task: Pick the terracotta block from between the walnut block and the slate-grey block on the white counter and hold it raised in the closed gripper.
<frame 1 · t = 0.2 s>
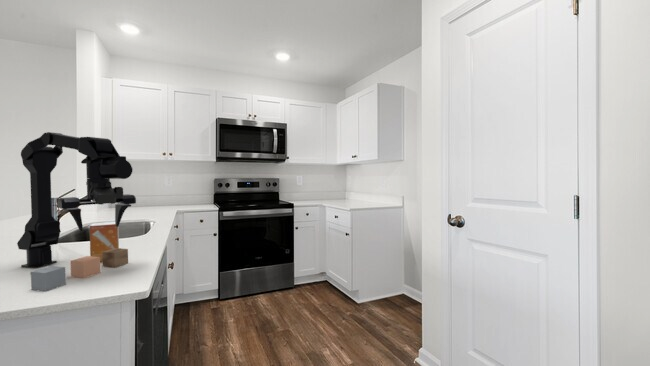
hand: (99, 228, 94), 14 cm above the counter, fingers open, 9 cm apart
slate cube: (49, 287, 82), on the counter
terracotta cube: (85, 275, 92), on the counter
walnut cube: (115, 265, 102), on the counter
small box: (105, 260, 108), on the counter
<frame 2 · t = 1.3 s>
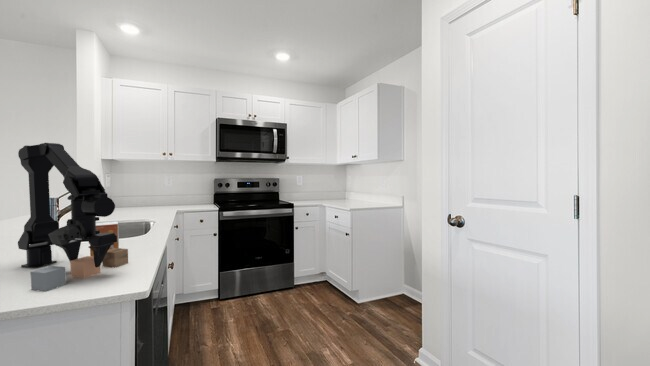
hand: (85, 265, 92), 3 cm above the counter, fingers open, 9 cm apart
nothing on the counter moved.
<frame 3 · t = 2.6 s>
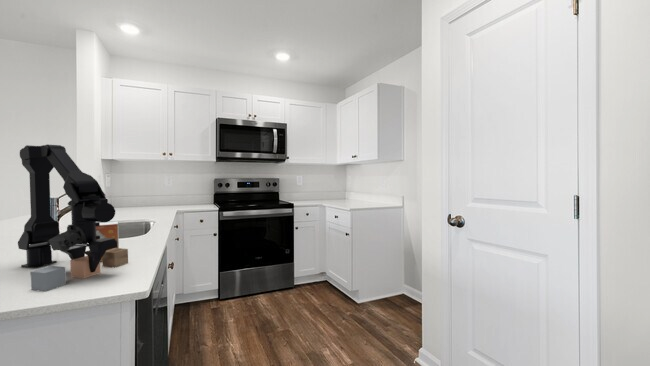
hand: (85, 271, 92), 1 cm above the counter, fingers closed on terracotta cube, 5 cm apart
terracotta cube: (85, 274, 92), on the counter, touching gripper
everything else where it was.
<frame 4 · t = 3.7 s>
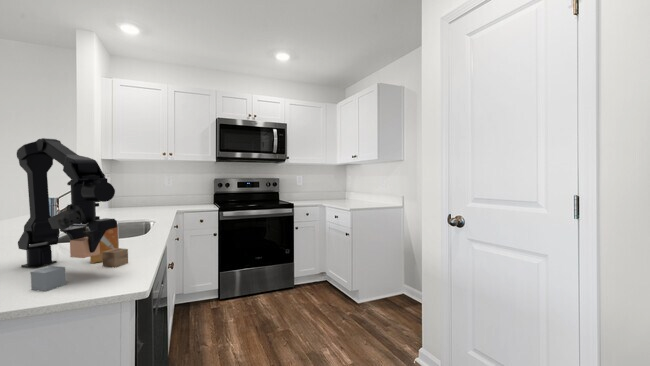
hand: (85, 251, 92), 7 cm above the counter, fingers closed on terracotta cube, 5 cm apart
terracotta cube: (85, 255, 92), point 6 cm above the counter, touching gripper
everything else where it was.
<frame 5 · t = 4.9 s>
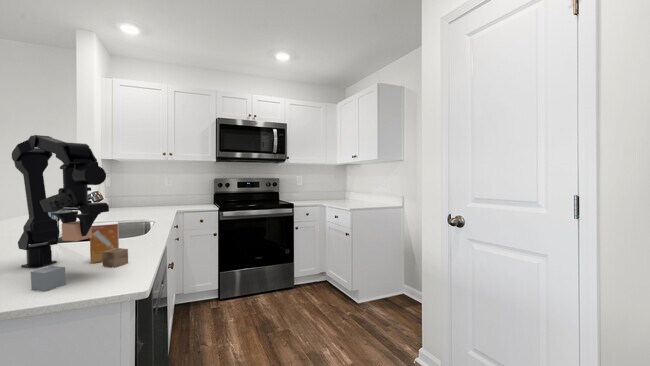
hand: (77, 235, 92), 12 cm above the counter, fingers closed on terracotta cube, 5 cm apart
terracotta cube: (77, 238, 92), point 11 cm above the counter, touching gripper
everything else where it was.
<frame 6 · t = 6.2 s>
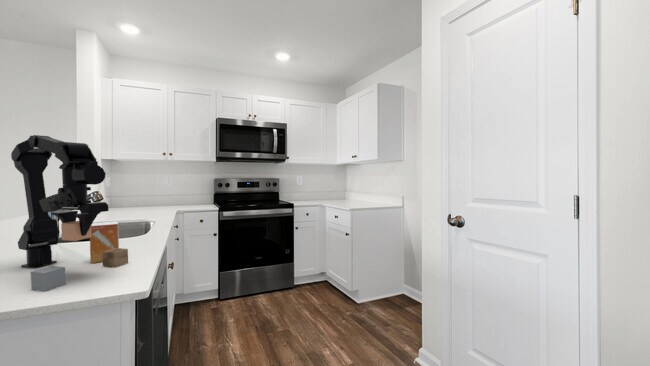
hand: (76, 235, 92), 12 cm above the counter, fingers closed on terracotta cube, 5 cm apart
terracotta cube: (76, 238, 92), point 11 cm above the counter, touching gripper
everything else where it was.
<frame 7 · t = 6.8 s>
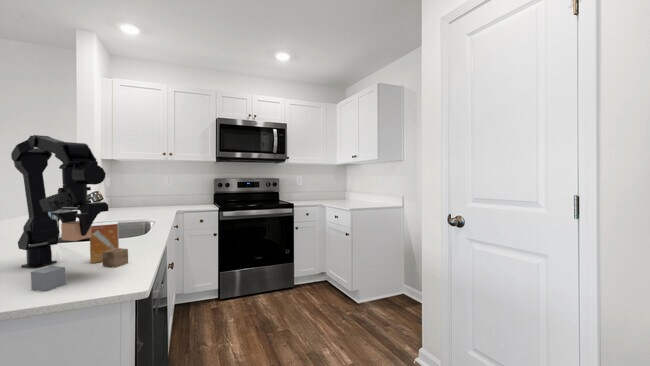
hand: (76, 235, 92), 12 cm above the counter, fingers closed on terracotta cube, 5 cm apart
terracotta cube: (76, 238, 92), point 11 cm above the counter, touching gripper
everything else where it was.
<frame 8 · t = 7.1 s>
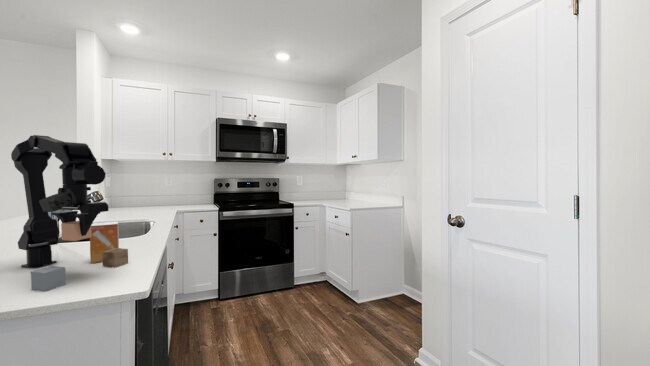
hand: (76, 235, 92), 12 cm above the counter, fingers closed on terracotta cube, 5 cm apart
terracotta cube: (76, 238, 92), point 11 cm above the counter, touching gripper
everything else where it was.
at the end: the gripper is holding terracotta cube; terracotta cube point 10.9 cm above the counter; walnut cube moved 0.1 cm from its start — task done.
